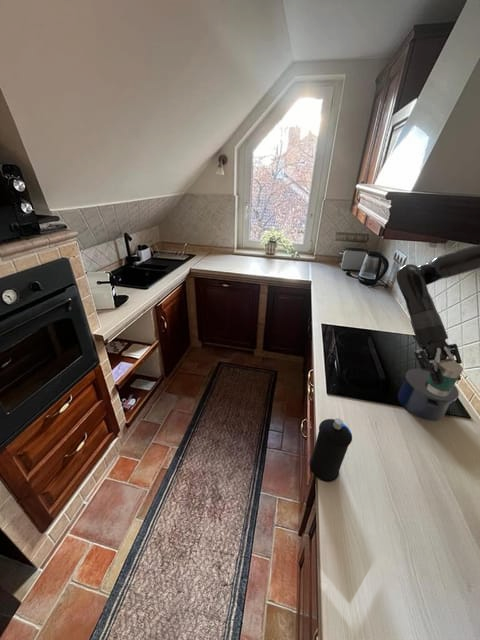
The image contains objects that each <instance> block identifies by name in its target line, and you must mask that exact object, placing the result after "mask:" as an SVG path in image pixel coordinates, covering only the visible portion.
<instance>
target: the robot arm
mask: <svg viewBox="0 0 480 640" xmlns="http://www.w3.org/2000/svg"><path fill="white" fill-rule="evenodd" d="M475 270H480V244H475V245H471V246H467V247H464V248H460V249H456V250H453V251H451V252H447V253H444V254H442V255H438V256H436V257H434V258H432V259H431V260H430V261H428V262H427V263H424V264H421V265H419V266H418V265H416V264H411V263H407V264H405V265H402V266H401V267H399V268H398V269H397V271H396V273H395V280H396V283H397V286H398V288H399V290H400V293H401V295H402V297H403V299H404V303H405V307H406V310H407V313H408V316H409V321H410V324H411V327H412V330H413V333H414V336H415V339H416V342H417V344H418V345H421V349H420V350H419V349H418V350H415V351H414V353H413V354H414V356H415V358H416V361H417V362H418V364H419V367H420V369H422V370H423V371H428V372H429V373H430V375H431V378H432V381H433V383H434V384H435V385H441V384H443V381H442V378H441V375H440V373H439V371H438V363H440V360H441V359H450V360H453V361H455V362H457V363H458V364H460V365H461V364H462V362H463V361H462V357H461V355H460V351H459V348H458V345H457V343H450V344H448V342H447V341H446V340H448V339H449V336H448V333H447V331H446V328H445V326H444V323H443V320H442V317H441V316H440V314H439V311H438V310H437V307H436V305H435V302H434V300H433V298H432V296H431V294H430V292H429V289H428V286H429V285H431V284H434V283H435V282H438V281H441V280H446V279H449V278H452V277H453V278H454V277H456V276H459V275H463V274H466V273H470V272H473V271H475ZM461 379H462V377H461V375H460V376H459V378H458V380H457V381H461ZM457 381H456V382H457Z"/></svg>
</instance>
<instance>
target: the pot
mask: <svg viewBox="0 0 480 640" xmlns="http://www.w3.org/2000/svg"><path fill="white" fill-rule="evenodd" d="M429 375H430V373H429V372H428V371H423V370H422V369H421V368H411V369H409V370H407V371H406V372H405V375H404V380H403V382H402V385H401V386H400V389H399V391H398V393H397V400H398V402H399V403H400V405H401V406H402V407H403V408H404V409H405V410H406V411H408V412H409V413H410V414H412V415H413V416H415V417H418V418H421V419H423V420H426V421H440V420H442V419H444V417H445V415H446V414H447V412H448V411H449V409H450V407H451V406H452V404H453V403H454V402H455V401H456V400H457V399H458V398H459V395H460V393H459V390H458V387H457V386H456V384H454V386H453V388H452V389H451V391H450V392H449V394H448V395H447V396H438V395H435V394H433V393H431V392H430V391H429V390H427V388H426V387H425V383H426V381H427V379H428V377H429Z"/></svg>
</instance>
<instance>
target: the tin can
mask: <svg viewBox="0 0 480 640" xmlns="http://www.w3.org/2000/svg"><path fill="white" fill-rule="evenodd" d="M438 371H439V373H440V375H441V378H442V381H443V384H441V385H435V384H434V383H433V381H432V378H431V375H429V377H428V379H427V381H426V383H425V387H426V388H427V390H429V391H430V392H431V393H433V394H435V395H438V396H447V395H448V394H449V392H450V391H451V389H452V388H453V386H454V385H456V383H457V380H458V378H459V376H460V377H461V374H462V372H463V371H464V368H463V366H462V365H461V364H458V363H457V362H455V361H453V360H450V359H441V360H440V363H438ZM458 381H459V380H458Z"/></svg>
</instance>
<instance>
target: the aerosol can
mask: <svg viewBox="0 0 480 640" xmlns="http://www.w3.org/2000/svg"><path fill="white" fill-rule="evenodd" d="M352 434H353V433H352V431H351V430H350V428H349V427H348V426H347V425H346V424H345V423H344V421H343V419H341V418H338V417H336V418H334V419H333V418H327V419H324V420H322V421H321V422H320V423H319V425H318V434H317V436H316V440H315V444H314V447H313V450H312V451H313V452H312V455H311V456H310V459H309V469H310V471H311V473H312V474H313V476H315V478H317V479H318V480H320V481H322V482H326V483H331V482H335V480H337V479H338V477H339V475H340V469H341V466H342V465H343V461H344V459H345V456H346V453H347V452H348V451H347V450H348V449H349V446H350V444H351V443H352V441H353V435H352Z"/></svg>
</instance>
